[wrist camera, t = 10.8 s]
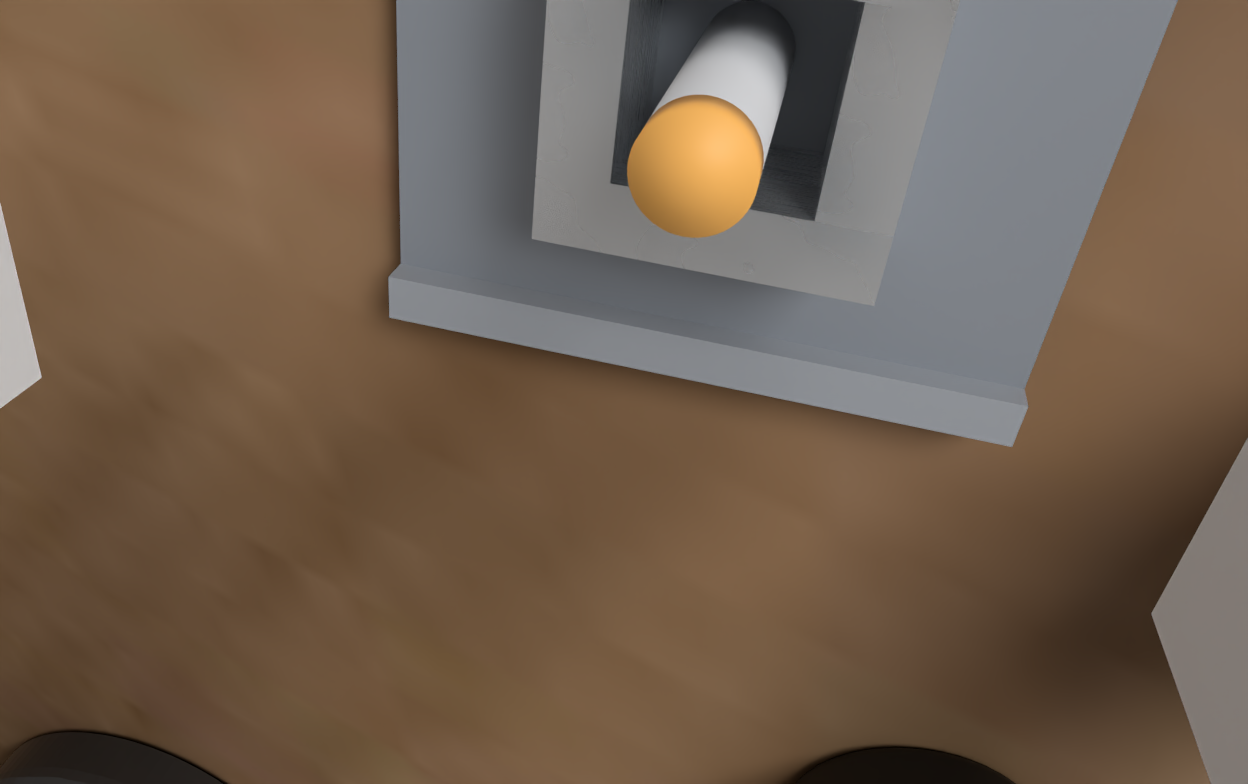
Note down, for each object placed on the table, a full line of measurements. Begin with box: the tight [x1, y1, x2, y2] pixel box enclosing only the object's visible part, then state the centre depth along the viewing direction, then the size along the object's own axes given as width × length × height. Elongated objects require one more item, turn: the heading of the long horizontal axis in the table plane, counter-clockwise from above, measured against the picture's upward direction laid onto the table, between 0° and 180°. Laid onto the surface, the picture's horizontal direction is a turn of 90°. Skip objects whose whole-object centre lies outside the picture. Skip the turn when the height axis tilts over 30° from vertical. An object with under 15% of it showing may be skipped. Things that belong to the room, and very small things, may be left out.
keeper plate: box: [388, 0, 1178, 447], centre depth 19 cm, size 16×16×9 cm
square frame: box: [532, 0, 960, 306], centre depth 20 cm, size 7×7×4 cm
